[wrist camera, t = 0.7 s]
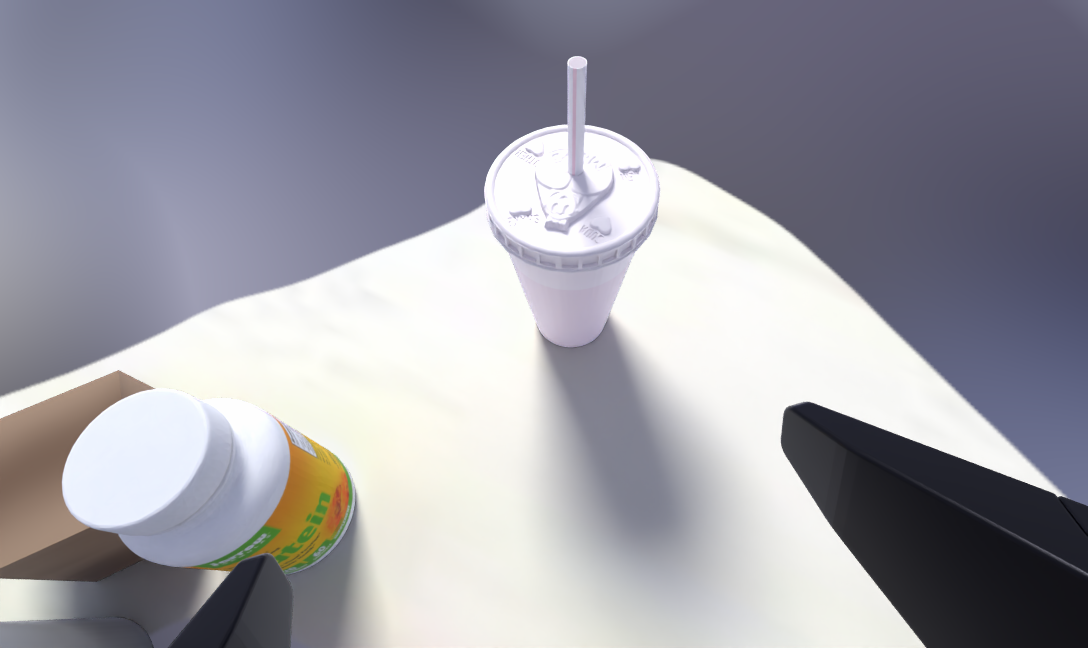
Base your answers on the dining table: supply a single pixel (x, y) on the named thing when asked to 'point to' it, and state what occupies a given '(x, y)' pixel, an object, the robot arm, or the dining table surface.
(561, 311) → the smoothie
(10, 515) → the walnut block
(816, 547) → the dining table surface
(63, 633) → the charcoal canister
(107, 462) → the supplement bottle
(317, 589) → the dining table surface
